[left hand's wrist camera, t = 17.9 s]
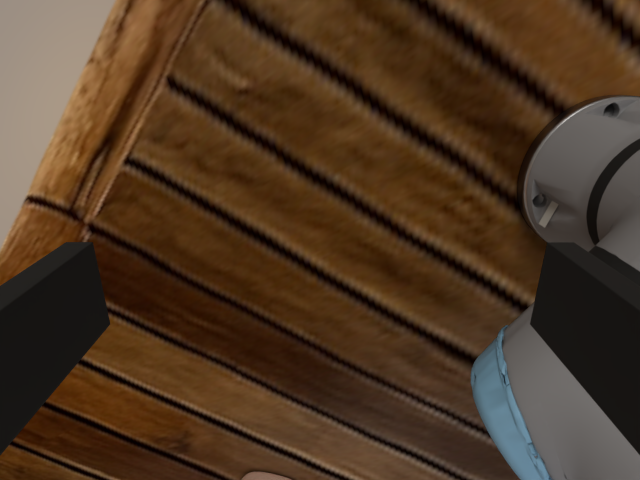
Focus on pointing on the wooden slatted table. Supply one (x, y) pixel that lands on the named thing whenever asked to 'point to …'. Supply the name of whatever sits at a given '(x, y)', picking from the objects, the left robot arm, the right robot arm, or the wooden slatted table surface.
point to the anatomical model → (263, 476)
